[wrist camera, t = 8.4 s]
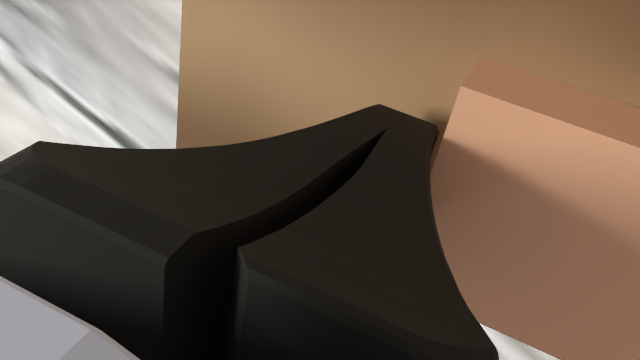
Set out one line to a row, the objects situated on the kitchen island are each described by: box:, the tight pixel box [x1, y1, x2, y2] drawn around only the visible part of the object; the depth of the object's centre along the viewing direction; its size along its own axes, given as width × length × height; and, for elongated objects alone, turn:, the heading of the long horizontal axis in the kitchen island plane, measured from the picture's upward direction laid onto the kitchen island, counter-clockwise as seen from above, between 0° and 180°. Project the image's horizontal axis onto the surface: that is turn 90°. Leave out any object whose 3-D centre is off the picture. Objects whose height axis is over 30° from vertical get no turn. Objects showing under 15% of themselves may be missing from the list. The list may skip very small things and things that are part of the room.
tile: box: [430, 56, 640, 360], centre depth 11 cm, size 4×4×2 cm
